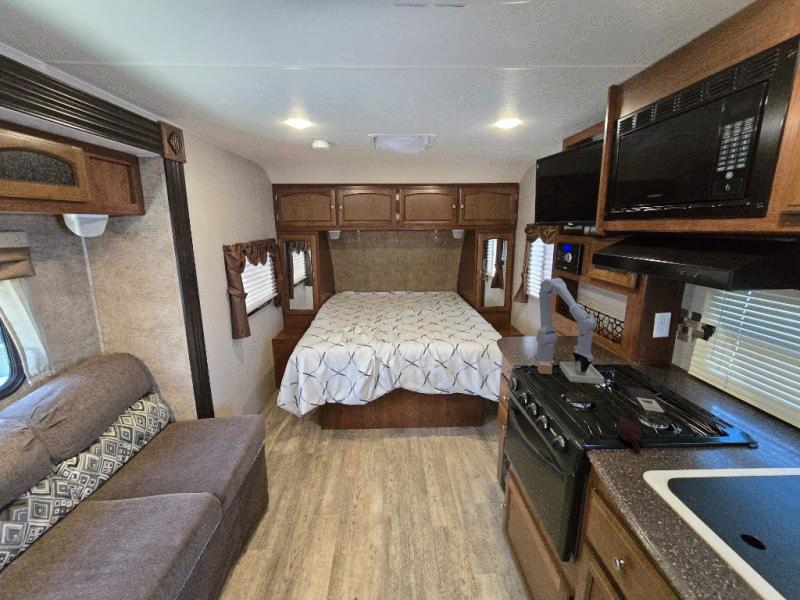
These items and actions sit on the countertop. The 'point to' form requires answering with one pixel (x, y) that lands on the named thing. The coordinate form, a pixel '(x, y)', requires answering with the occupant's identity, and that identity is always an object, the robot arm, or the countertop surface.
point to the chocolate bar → (646, 400)
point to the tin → (579, 368)
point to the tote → (573, 376)
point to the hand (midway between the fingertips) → (580, 369)
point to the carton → (545, 367)
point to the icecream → (629, 432)
